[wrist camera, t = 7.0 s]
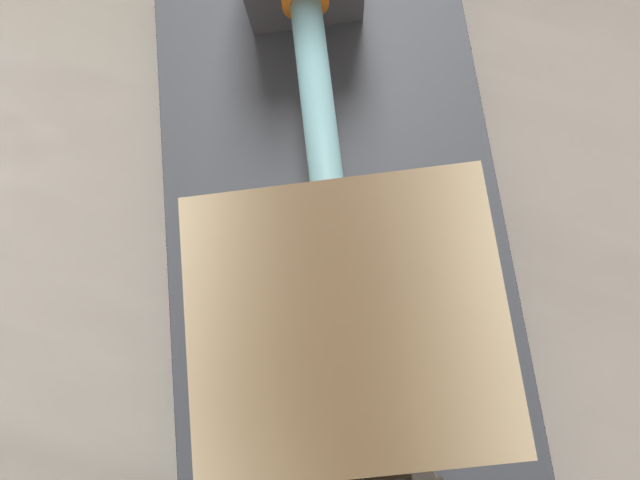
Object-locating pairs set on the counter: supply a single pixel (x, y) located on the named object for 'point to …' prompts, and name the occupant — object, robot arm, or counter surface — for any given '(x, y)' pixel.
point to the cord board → (320, 129)
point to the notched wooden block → (349, 329)
